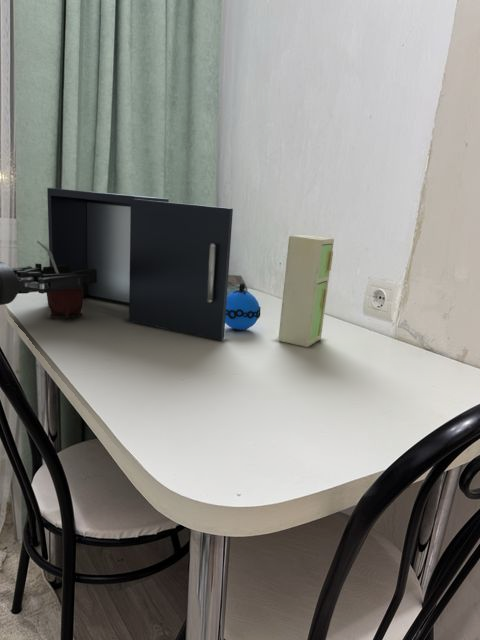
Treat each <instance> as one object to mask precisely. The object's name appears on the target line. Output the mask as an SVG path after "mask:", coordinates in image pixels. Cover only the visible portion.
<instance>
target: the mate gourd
mask: <svg viewBox="0 0 480 640" xmlns="http://www.w3.org/2000/svg"><path fill="white" fill-rule="evenodd" d="M36 243H37V244H39V246H40V247H42V248H43V249H44V250H45V251H46V252H47V256H48V258H50V259H51V261H52V264H53V266H54V269H55V272H56V274H59V272H58V269H57V267H56V264H55V261H54V259H53V255H52V253H51V252H50V251H49V247H47V246H46V245H44V244H43V243H42V242H40V241H39V240H37V241H36ZM83 298H84V291H83V286H82V285H81V288H77V290H73V289H67V290H59V291H51V292H47V293H46V300H47V305H48V308H49V311H50V313H51V314H50V315H49V316H50V318H65V320H71V317H83V312H82V310H83V306H84V299H83Z"/></svg>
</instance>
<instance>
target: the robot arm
mask: <svg viewBox="0 0 480 640" xmlns="http://www.w3.org/2000/svg"><path fill="white" fill-rule="evenodd" d="M34 266H35V267H33V266H30V265H26V266H19V267H11V266H10V265H9V264H7V263H6V262H3V261H0V306H2V305H4V306H5V305H9V304H11V303H12V302H14V300H15V299H16V298H17V296H18V294H21V295H22V294H29V293H31V292H38V293H39V294H47V292H51V291H59V290H67V289H73V290H77V288H81V285H83V284H90V283H97V270H96V269H91V270H82V271H73V272H71V273H70V265H60V266H56V267H57V269H58V272H59V274H56V272H55V269H54V266H50V265H49V266H43V267H42V263H34Z"/></svg>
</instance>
